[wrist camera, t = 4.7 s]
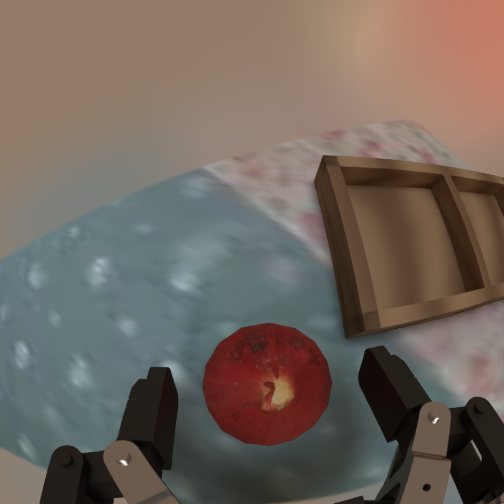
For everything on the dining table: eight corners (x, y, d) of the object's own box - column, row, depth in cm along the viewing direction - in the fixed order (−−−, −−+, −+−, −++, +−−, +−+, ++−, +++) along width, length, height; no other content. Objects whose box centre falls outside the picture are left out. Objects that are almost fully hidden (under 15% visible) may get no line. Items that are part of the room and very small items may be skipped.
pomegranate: (203, 344, 16) (172, 319, 9) (297, 325, 17) (340, 286, 9) (223, 435, 14) (208, 486, 6) (318, 414, 14) (378, 441, 7)
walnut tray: (345, 338, 16) (365, 330, 14) (314, 181, 21) (322, 155, 19) (525, 290, 18) (544, 279, 15) (490, 192, 23) (505, 177, 20)
